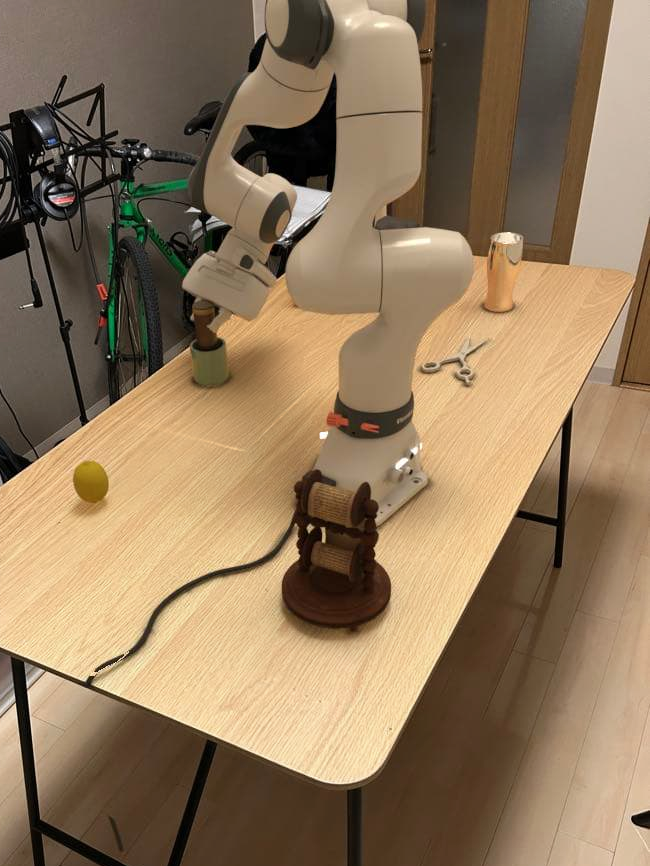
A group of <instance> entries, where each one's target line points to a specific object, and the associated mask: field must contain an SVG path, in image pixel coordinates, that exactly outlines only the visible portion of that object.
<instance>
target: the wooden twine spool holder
mask: <svg viewBox="0 0 650 866" xmlns="http://www.w3.org/2000/svg"><path fill="white" fill-rule="evenodd" d="M312 470H313V469H312ZM322 481H323V479H322V473H321V471H320V470H318V469H315V470H313V471H312V472H311V473H310V474H309V475H308V477H307V479H306V480H305V481H302V480H298V481H296V482H295V483H294V485H293V492H294V493H295V499H296V501H297V502H296V505H295V510H296V509H297V511H296V513H295V515H294V522H295V525H296V527H297V528H298V530H297V532H296V533H297V534H296V535H297V538H298V539H297V540H296V543H295V545H296V549H298V551H297V554H298V559H297V560H296V561H295V562H293V563H292V564H291V565H289V567H288V568H287V570H285V573H284V575H283V577H282V580H281V597H282V600H283V603H284V606H285V608H286V609H287V610H288V611H289V612H290V613H291V614H292V615H293V616H294V617H296V618H297V619H298V620H300V621H301V622H304V623H306V624H308V625H309V626H310V625H311V626H314V627H317V628H322V629H328V630H346V629H349V630H350V632H352V633H355V632H356V631H357V629H358V627H360V626H363V625H365V624H368V623H370V622H371V621H373V620H375V619H376V618H378V617H379V616H380V615H381V614H382V613H383V612H384V611H385V610H386V608H387V606H388V605H389V603H390V600H391V596H392V581H391V578H390V575H389V574H388V572H387V570H386V569H385V567H383V566H382V564H380V562H378V561H377V560H376V559H375V558H376V551H375V548H376V545H377V543H378V541H379V538H380V533H379V531H378V530H377V527H378V526H377V525H376V522H375V519H376V518H377V514H376V513H377V512H378V510H379V505H378V503H377V502H376V501H375V500H373V499H371V488H370V485H369V483H368V482H363V483H362V484H361V485H360V486H359V488H358V490H357V492H352V491H349V490H345V489H341V488H337V487H334V486H330V485H326V484H322ZM323 519H324V520H323ZM310 525H311V527H312V529H311V530H310V531H309V530H308V527H309V526H310ZM322 528H324V533H325V534H323V529H322ZM323 535H325V536H323ZM323 537H324V542H323Z"/></svg>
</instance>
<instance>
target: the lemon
mask: <svg viewBox="0 0 650 866" xmlns="http://www.w3.org/2000/svg"><path fill="white" fill-rule="evenodd" d="M72 482H73V488H74V490H75V493H76V495H77V496H78V497H79V499H81V500H82V501H84V502H87V503H94V504H96V503H98V502H100V501H102V500H103V499H104V498H105V497H106V496H107V494H108V491H109V487H110V486H109V484H110V483H109V482H110V481H109V476H108V474H107V472H106V470H105V468H104V466H102V465H101V464H100V463H98V461H94V460H84V461H81V462H80V463H79V464H78V465H76V467H75V468H74V471H73V475H72Z"/></svg>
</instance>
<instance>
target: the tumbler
mask: <svg viewBox="0 0 650 866" xmlns="http://www.w3.org/2000/svg"><path fill="white" fill-rule="evenodd" d="M217 341H218V349H217V350H214V351H208V352H201V351H198V348H197V340H196V339H194V340H193V341H191V343H190V344H189V353H190V360H191V361H190V362H191V370H192V376H193V377H192V378H193V380H194V381H195V382H196V383H197V384H200V385H203V386H214V385H219V384H222V383H224V382H225V381H226V380H228V378H229V376H230V371H229V358H228V349H227V342H226V339H224V338H222V337H221V336H217Z"/></svg>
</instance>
